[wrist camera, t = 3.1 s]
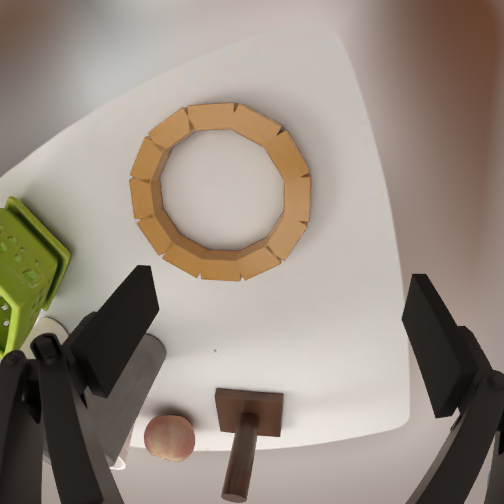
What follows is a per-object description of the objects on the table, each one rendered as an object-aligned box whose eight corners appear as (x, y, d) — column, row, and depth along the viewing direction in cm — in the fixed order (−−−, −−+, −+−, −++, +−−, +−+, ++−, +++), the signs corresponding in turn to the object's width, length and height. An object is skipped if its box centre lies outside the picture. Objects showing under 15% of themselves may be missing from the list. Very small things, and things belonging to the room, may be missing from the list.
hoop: (310, 102, 25) (311, 102, 23) (305, 273, 32) (306, 284, 30) (134, 112, 27) (122, 113, 25) (152, 266, 34) (144, 275, 32)
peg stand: (283, 393, 40) (273, 489, 27) (280, 429, 44) (271, 512, 31) (216, 387, 41) (190, 478, 28) (222, 424, 45) (201, 504, 32)
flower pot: (18, 179, 32) (-58, 215, 20) (90, 250, 34) (22, 310, 23) (-3, 251, 37) (-59, 293, 26) (58, 313, 40) (7, 369, 29)
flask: (154, 325, 38) (78, 460, 20) (172, 360, 40) (114, 491, 22) (72, 331, 41) (-3, 429, 23) (91, 361, 43) (27, 459, 25)
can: (53, 349, 44) (15, 398, 33) (34, 316, 42) (-10, 364, 31) (79, 349, 43) (39, 404, 32) (58, 314, 40) (11, 367, 29)
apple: (150, 418, 48) (134, 455, 40) (159, 397, 44) (141, 437, 37) (193, 437, 48) (181, 474, 41) (207, 417, 45) (195, 459, 38)
